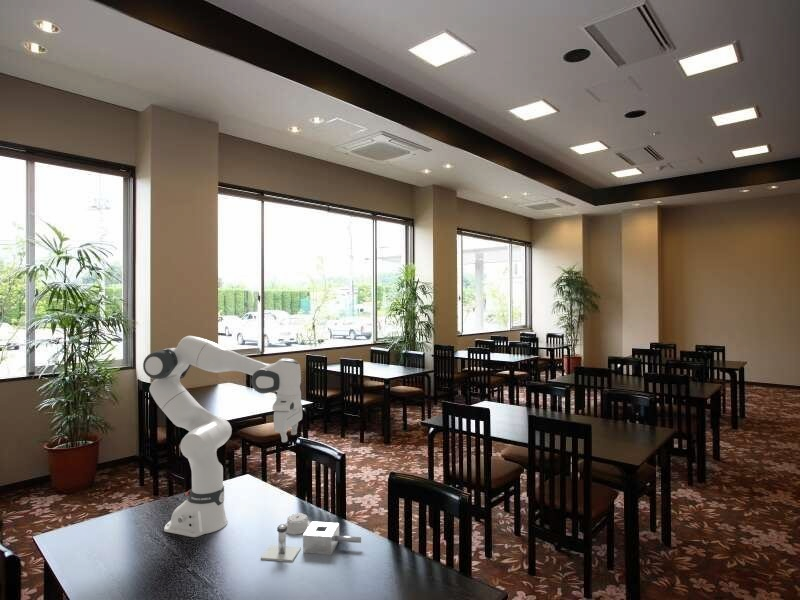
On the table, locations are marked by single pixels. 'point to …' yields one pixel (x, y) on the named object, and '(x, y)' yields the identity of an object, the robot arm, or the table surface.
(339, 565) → the table surface
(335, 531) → the block
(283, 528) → the grey capped cylinder
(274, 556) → the mat
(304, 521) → the mechanical component
